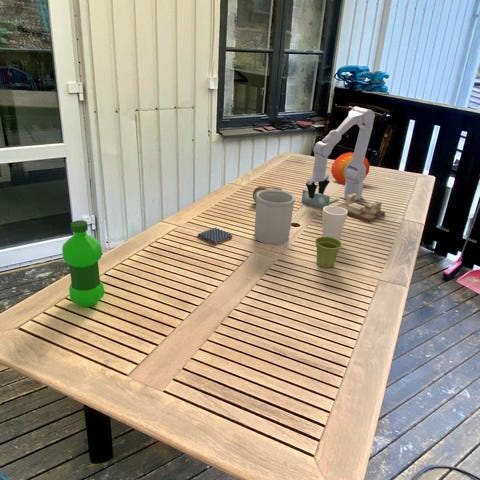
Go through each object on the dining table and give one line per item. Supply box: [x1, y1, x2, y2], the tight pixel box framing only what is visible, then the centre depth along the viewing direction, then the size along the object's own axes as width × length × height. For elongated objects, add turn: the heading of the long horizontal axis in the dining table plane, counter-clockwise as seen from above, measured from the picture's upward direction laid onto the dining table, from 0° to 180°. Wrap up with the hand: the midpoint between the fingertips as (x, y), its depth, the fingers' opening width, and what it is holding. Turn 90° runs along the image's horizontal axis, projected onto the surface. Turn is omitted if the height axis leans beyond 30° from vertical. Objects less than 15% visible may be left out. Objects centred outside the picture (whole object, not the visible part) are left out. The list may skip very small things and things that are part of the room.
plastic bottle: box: [61, 220, 105, 308], centre depth 123 cm, size 10×10×25 cm
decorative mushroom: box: [330, 152, 370, 185], centre depth 244 cm, size 15×21×15 cm
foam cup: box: [322, 205, 348, 241], centre depth 173 cm, size 10×9×13 cm
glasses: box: [301, 188, 339, 209], centre depth 212 cm, size 10×14×6 cm
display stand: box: [336, 193, 386, 223], centre depth 203 cm, size 14×19×6 cm
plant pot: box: [314, 236, 343, 269], centre depth 156 cm, size 9×9×9 cm
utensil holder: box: [254, 189, 296, 245], centre depth 172 cm, size 15×15×18 cm
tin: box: [252, 185, 284, 203], centre depth 206 cm, size 15×3×8 cm, turn 84°
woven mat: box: [196, 226, 233, 246], centre depth 172 cm, size 10×11×2 cm
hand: (315, 196), depth 209 cm, fingers open, 7 cm apart
